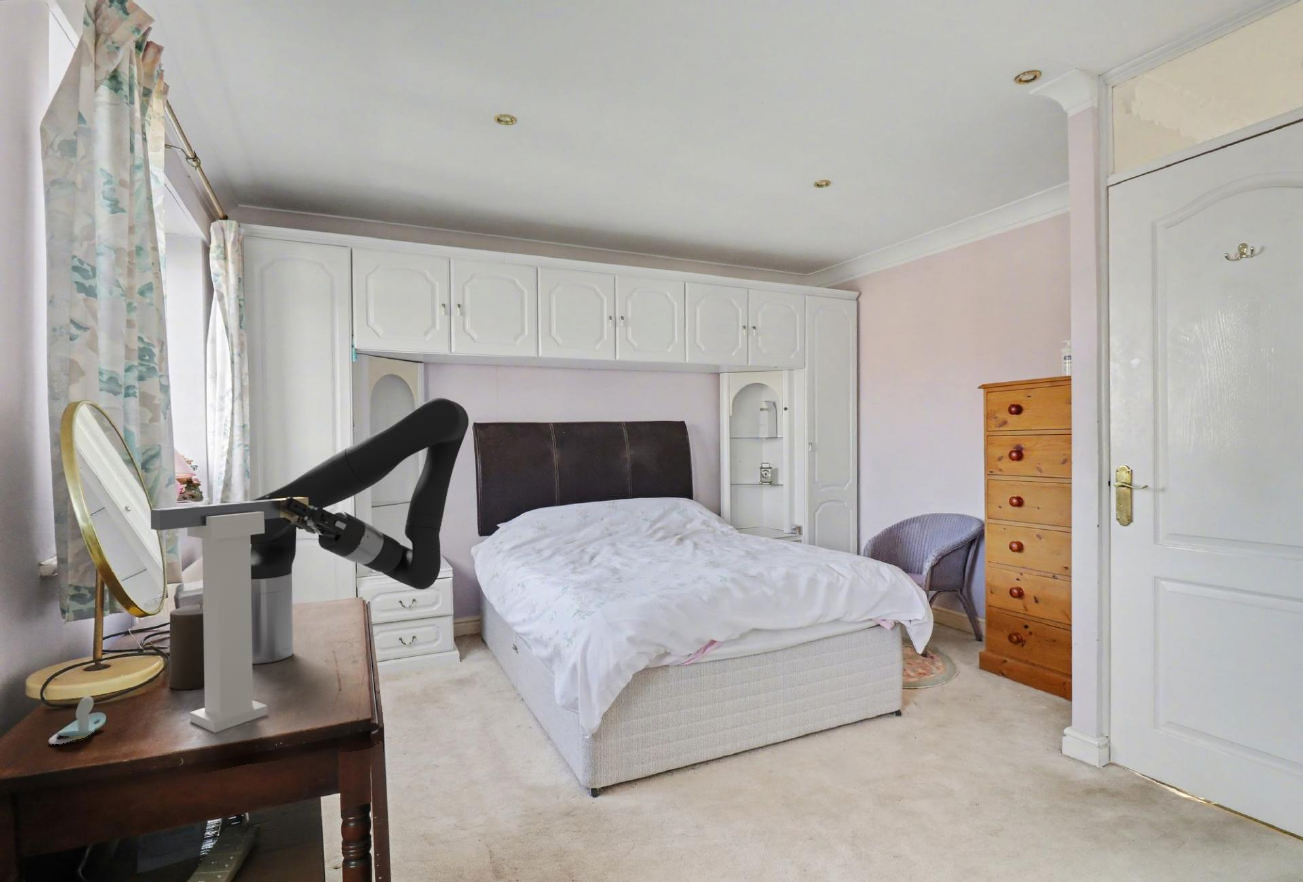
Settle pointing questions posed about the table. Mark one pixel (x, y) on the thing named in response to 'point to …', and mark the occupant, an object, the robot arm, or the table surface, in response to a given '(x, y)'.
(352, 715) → the table surface
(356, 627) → the table surface
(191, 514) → the bar
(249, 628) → the stand
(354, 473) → the robot arm
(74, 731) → the pacifier
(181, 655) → the pillar candle
